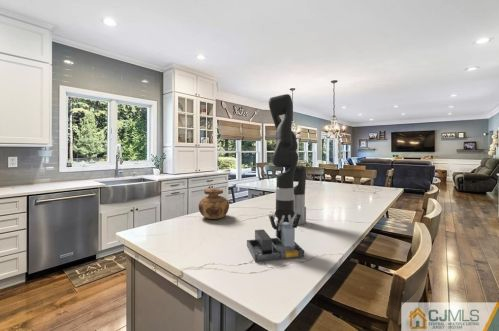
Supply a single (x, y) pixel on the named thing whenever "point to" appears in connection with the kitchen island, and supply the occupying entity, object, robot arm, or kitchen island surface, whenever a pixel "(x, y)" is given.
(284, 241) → the panel
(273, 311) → the kitchen island surface
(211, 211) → the clay pot
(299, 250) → the dark grey tray
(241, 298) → the kitchen island surface
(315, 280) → the kitchen island surface
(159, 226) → the kitchen island surface
